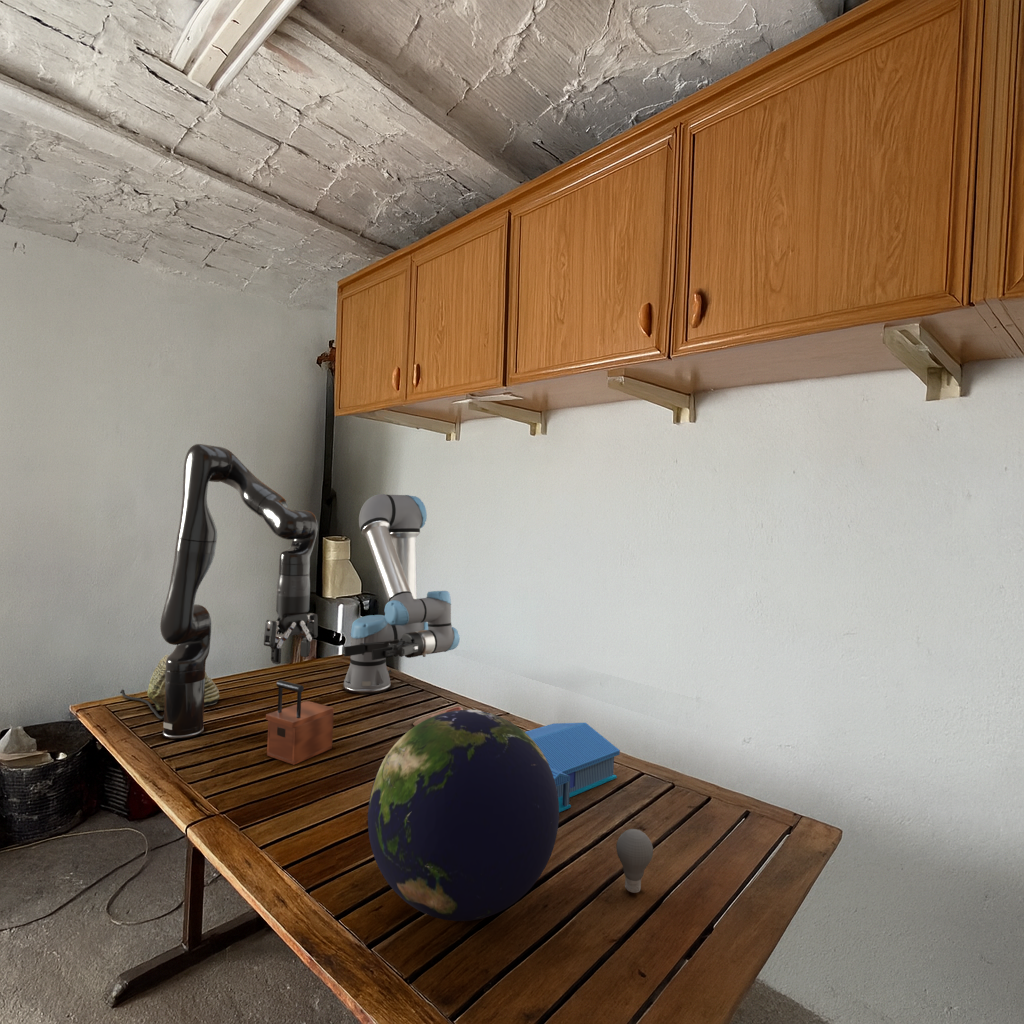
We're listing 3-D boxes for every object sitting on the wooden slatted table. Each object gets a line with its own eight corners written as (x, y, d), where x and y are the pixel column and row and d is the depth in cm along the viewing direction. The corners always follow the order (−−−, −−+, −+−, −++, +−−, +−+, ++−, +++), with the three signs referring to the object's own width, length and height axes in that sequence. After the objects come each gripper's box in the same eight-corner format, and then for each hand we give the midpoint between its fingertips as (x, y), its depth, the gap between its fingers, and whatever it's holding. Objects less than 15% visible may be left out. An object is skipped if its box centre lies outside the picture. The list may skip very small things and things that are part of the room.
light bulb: (610, 879, 108) (613, 822, 108) (644, 879, 109) (647, 822, 109) (619, 902, 102) (622, 840, 102) (655, 901, 103) (658, 840, 103)
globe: (322, 932, 92) (330, 728, 92) (425, 835, 120) (432, 678, 119) (512, 1001, 81) (522, 769, 81) (577, 877, 109) (585, 703, 108)
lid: (292, 728, 148) (294, 689, 148) (265, 719, 152) (266, 682, 152) (333, 712, 159) (335, 676, 159) (307, 705, 164) (308, 670, 164)
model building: (501, 837, 120) (504, 785, 120) (427, 790, 139) (429, 744, 138) (628, 782, 147) (630, 739, 147) (552, 748, 165) (553, 710, 165)
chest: (294, 765, 149) (295, 727, 149) (266, 755, 153) (268, 718, 153) (332, 748, 159) (333, 713, 159) (305, 739, 164) (307, 705, 164)
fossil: (144, 707, 182) (145, 655, 182) (212, 696, 194) (213, 647, 194) (151, 716, 175) (153, 662, 175) (221, 703, 188) (223, 653, 188)
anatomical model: (409, 713, 175) (423, 701, 186) (408, 727, 175) (423, 714, 186) (455, 719, 172) (467, 706, 184) (455, 733, 172) (466, 719, 184)
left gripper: (280, 598, 144) (277, 668, 144) (326, 591, 157) (324, 656, 157) (258, 594, 148) (255, 663, 148) (305, 588, 160) (302, 652, 161)
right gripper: (444, 659, 187) (385, 670, 171) (392, 653, 204) (334, 663, 188) (443, 633, 188) (384, 642, 172) (391, 629, 204) (333, 637, 188)
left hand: (290, 659), depth 152 cm, fingers open, 8 cm apart
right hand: (358, 653), depth 180 cm, fingers open, 13 cm apart
